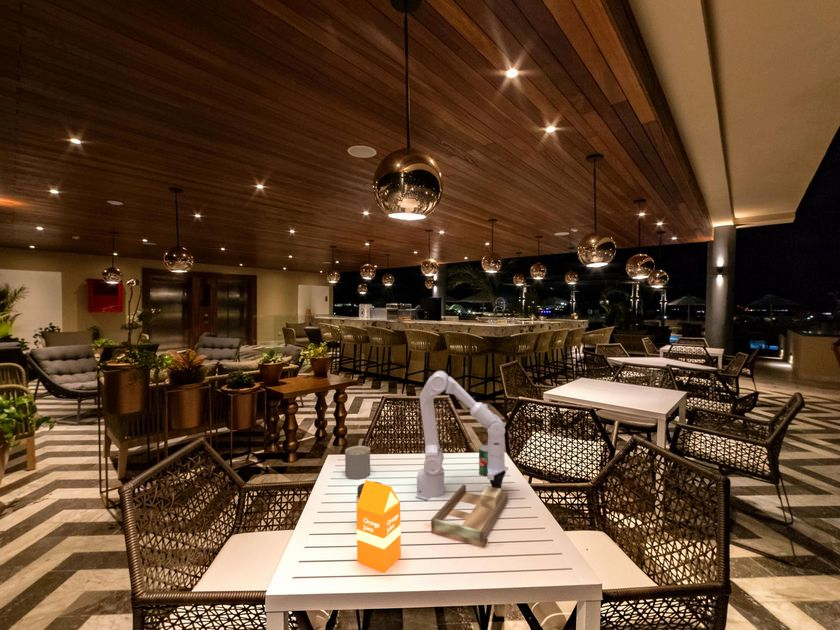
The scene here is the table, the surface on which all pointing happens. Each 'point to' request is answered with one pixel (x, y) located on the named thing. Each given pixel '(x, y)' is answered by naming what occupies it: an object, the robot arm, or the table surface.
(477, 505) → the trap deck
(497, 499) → the maple block
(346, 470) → the coffee mug
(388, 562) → the orange juice
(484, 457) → the canned tomato
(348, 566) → the table surface
